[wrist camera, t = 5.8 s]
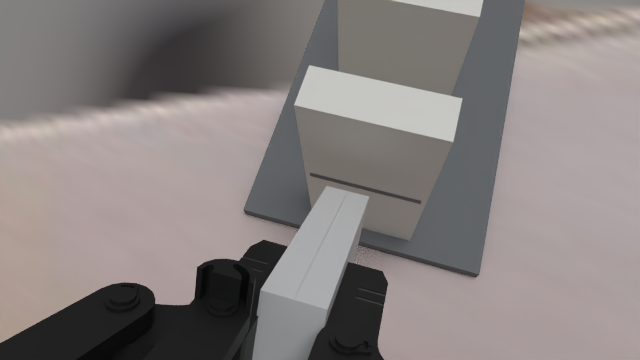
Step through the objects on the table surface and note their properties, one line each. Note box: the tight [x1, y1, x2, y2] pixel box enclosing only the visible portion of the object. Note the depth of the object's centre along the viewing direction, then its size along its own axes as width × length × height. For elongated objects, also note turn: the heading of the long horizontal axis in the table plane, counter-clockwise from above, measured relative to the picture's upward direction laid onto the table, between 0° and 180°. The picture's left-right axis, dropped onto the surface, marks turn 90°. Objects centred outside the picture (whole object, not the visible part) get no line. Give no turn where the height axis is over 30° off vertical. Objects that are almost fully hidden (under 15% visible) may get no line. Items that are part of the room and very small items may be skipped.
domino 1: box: [338, 0, 483, 96], centre depth 21 cm, size 2×5×10 cm, turn 73°
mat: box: [244, 0, 525, 277], centre depth 28 cm, size 24×12×1 cm, turn 163°
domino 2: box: [294, 65, 463, 241], centre depth 19 cm, size 2×5×10 cm, turn 73°
